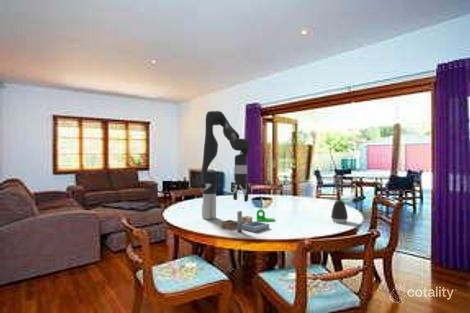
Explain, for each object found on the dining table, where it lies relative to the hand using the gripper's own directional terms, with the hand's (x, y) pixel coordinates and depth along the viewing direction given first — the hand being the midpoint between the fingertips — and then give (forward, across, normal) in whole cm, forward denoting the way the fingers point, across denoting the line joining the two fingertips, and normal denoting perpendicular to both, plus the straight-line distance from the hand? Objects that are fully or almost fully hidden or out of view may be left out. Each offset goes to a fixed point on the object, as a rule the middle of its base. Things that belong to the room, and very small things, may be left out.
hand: (240, 200), depth 171 cm
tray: (+18, +2, +11) cm, 21 cm away
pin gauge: (+18, 0, -1) cm, 18 cm away
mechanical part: (+19, -7, +32) cm, 37 cm away
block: (+18, -7, +13) cm, 24 cm away
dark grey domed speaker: (+18, +31, +62) cm, 72 cm away
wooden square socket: (+18, -11, +2) cm, 21 cm away
